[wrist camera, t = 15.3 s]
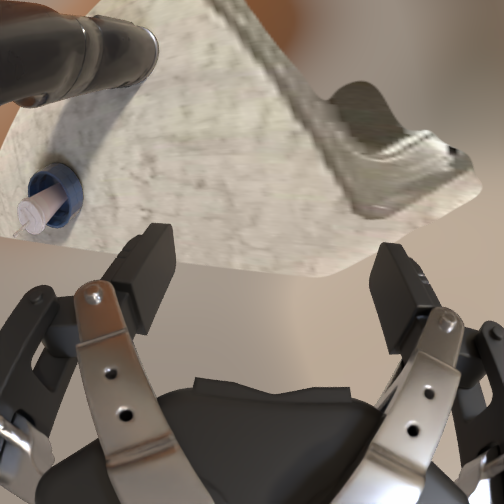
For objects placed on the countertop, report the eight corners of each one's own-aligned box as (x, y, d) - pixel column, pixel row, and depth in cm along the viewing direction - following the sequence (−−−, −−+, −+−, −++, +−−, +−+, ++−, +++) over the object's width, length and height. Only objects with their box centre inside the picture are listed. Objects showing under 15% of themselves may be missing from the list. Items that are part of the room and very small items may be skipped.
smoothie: (56, 210, 45) (12, 252, 34) (45, 180, 41) (-5, 217, 30) (78, 204, 44) (32, 248, 33) (66, 171, 41) (14, 210, 29)
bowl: (34, 181, 42) (20, 191, 39) (62, 150, 39) (46, 158, 35) (64, 224, 48) (51, 237, 44) (95, 199, 44) (81, 211, 40)
